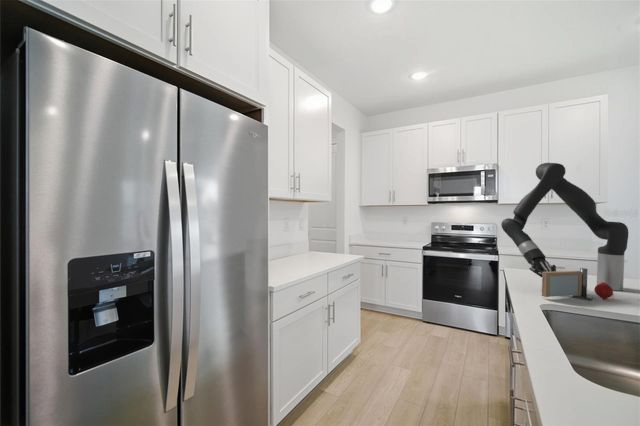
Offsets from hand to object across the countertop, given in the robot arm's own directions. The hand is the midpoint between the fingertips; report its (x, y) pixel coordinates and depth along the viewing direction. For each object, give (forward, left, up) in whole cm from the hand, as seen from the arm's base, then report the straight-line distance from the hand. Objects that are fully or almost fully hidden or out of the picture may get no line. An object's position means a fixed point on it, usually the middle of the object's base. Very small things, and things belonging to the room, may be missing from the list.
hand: (555, 284), depth 124 cm
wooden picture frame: (-1, +2, -5) cm, 5 cm away
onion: (-15, +14, -6) cm, 21 cm away
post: (-10, +8, -6) cm, 14 cm away
